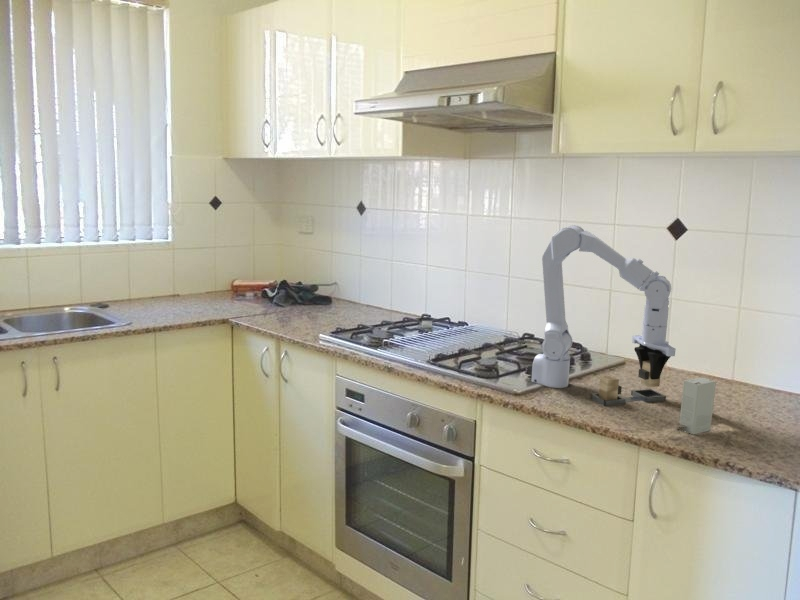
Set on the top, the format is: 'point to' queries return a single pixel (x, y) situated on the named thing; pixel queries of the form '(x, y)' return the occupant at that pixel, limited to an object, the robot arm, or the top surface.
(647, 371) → the beige wooden block
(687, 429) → the skincare box
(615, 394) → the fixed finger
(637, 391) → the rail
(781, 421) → the top surface
